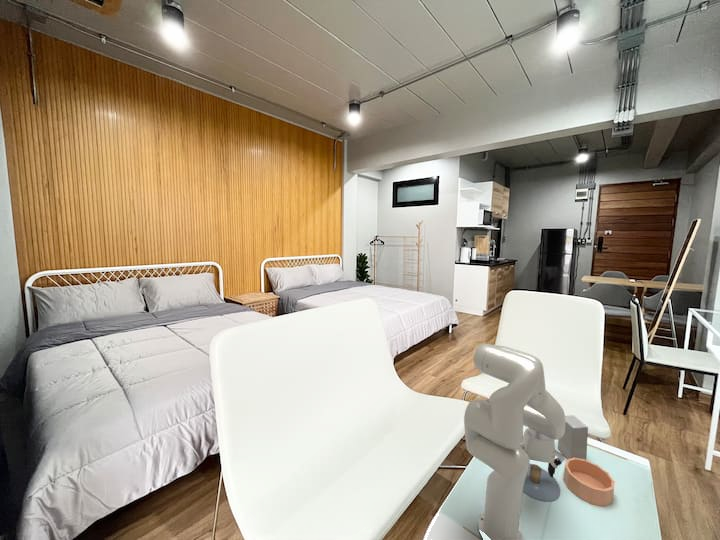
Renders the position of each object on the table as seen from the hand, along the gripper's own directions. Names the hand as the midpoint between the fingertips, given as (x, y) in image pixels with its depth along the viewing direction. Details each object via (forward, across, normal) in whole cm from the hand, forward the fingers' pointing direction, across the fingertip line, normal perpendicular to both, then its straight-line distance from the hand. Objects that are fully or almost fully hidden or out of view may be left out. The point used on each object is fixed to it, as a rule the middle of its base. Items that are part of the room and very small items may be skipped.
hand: (535, 471), depth 108 cm
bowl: (+4, -18, -2) cm, 18 cm away
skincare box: (+5, -19, -18) cm, 26 cm away
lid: (+4, 0, 0) cm, 4 cm away
